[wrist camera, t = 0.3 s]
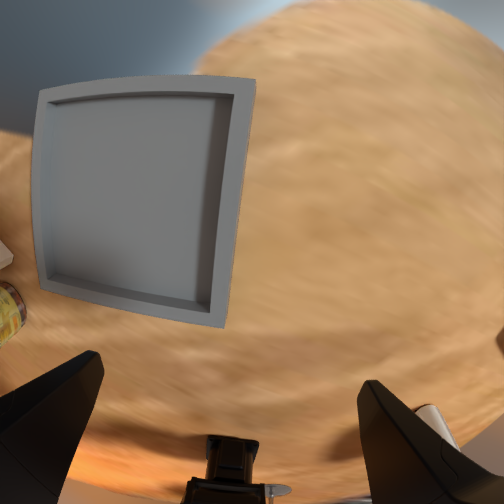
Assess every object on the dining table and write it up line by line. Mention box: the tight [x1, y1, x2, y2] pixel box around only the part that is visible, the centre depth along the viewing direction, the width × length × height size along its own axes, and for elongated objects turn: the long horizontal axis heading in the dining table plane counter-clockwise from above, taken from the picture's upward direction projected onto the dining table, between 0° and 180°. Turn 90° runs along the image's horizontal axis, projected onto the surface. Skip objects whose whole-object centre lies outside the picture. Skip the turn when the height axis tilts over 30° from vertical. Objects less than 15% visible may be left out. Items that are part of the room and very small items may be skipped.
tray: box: [31, 75, 256, 329], centre depth 20 cm, size 18×18×2 cm
